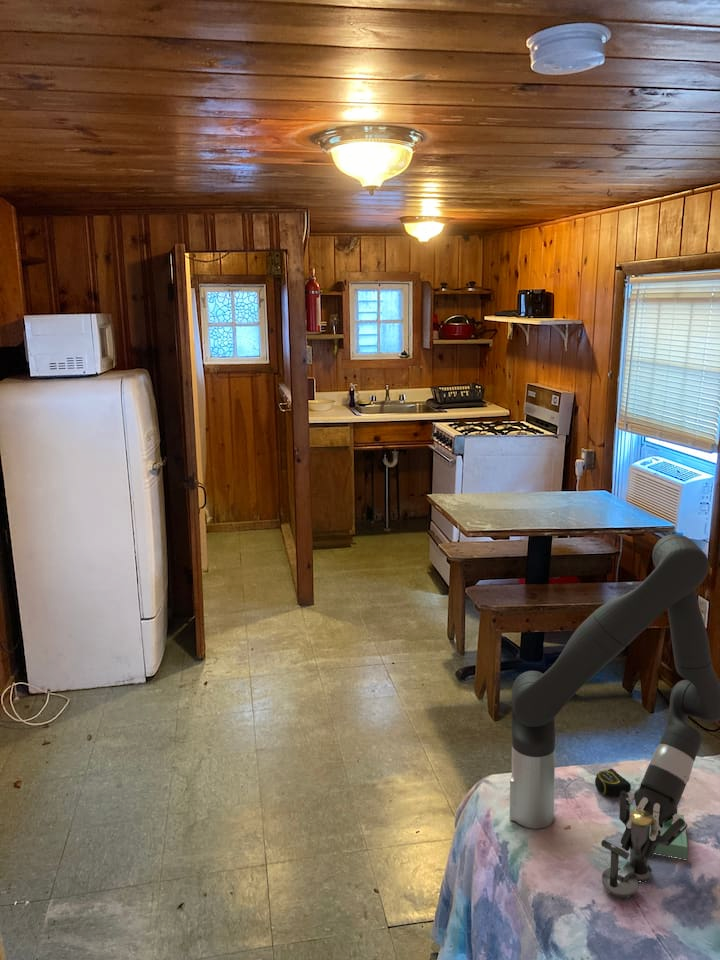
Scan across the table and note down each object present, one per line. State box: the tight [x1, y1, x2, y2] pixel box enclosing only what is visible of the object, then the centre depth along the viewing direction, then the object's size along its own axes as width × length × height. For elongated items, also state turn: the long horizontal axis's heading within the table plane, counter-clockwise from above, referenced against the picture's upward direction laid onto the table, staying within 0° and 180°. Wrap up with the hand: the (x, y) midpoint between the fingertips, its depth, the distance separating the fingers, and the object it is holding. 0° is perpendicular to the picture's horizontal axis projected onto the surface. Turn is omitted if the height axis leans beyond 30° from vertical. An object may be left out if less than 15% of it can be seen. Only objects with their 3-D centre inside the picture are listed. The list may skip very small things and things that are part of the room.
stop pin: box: [625, 809, 652, 883], centre depth 145 cm, size 5×5×13 cm
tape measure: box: [594, 768, 632, 798], centre depth 172 cm, size 7×7×4 cm
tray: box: [630, 805, 688, 860], centre depth 156 cm, size 11×11×3 cm
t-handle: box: [600, 839, 639, 900], centre depth 141 cm, size 7×6×11 cm
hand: (634, 854), depth 144 cm, fingers closed on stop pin, 3 cm apart
